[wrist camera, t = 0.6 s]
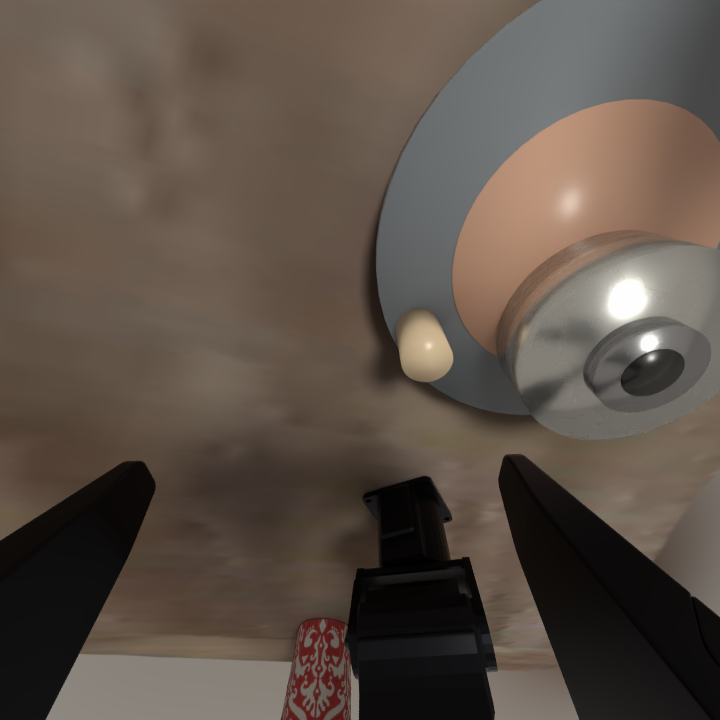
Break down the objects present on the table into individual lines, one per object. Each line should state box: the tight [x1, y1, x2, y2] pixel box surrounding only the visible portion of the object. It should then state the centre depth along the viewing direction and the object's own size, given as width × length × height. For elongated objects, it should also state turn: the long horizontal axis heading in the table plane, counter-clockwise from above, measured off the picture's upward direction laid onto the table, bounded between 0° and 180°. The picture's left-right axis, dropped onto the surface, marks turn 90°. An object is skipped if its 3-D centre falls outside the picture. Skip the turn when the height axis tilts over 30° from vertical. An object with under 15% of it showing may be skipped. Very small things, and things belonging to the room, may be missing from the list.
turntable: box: [376, 0, 720, 415], centre depth 15 cm, size 20×20×5 cm
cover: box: [496, 230, 720, 440], centre depth 16 cm, size 10×10×5 cm
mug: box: [281, 619, 351, 720], centre depth 41 cm, size 13×9×14 cm
